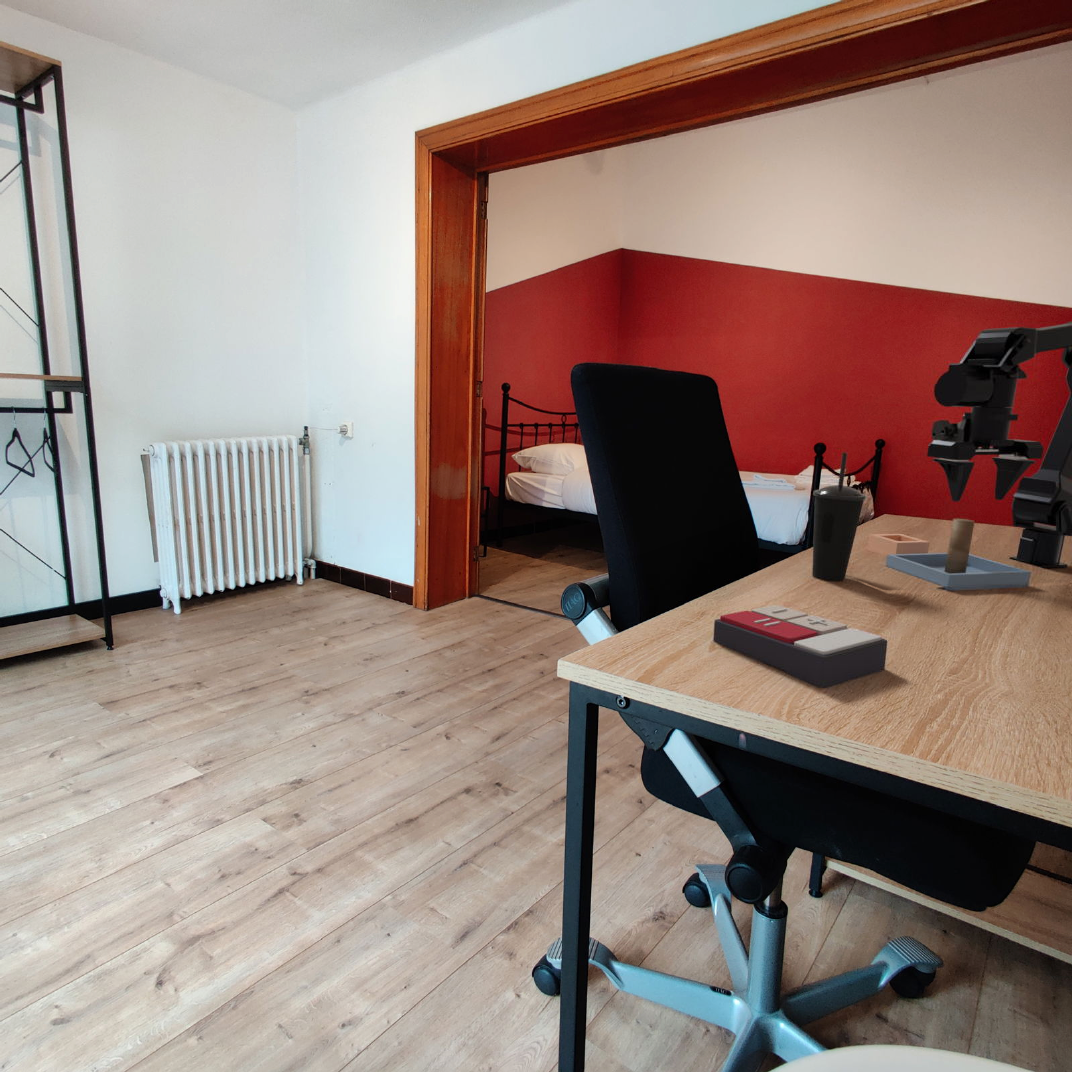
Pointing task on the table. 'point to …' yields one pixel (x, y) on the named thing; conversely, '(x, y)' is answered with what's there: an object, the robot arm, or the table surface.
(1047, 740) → the table surface
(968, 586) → the slate tray
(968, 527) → the walnut dowel
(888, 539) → the terracotta socket
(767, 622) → the calculator
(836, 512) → the drinking cup
